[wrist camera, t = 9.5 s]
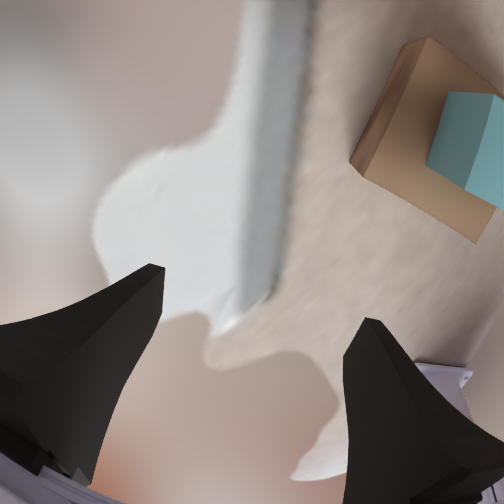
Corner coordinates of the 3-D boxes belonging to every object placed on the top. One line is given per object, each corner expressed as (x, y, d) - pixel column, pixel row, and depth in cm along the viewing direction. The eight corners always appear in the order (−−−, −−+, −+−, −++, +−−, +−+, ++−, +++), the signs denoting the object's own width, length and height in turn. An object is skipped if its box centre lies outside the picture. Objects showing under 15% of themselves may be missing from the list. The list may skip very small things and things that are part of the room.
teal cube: (482, 193, 13) (524, 223, 9) (424, 165, 13) (463, 189, 9) (504, 127, 11) (552, 141, 8) (448, 91, 11) (494, 94, 7)
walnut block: (447, 217, 18) (475, 244, 14) (347, 161, 17) (363, 177, 14) (496, 118, 14) (533, 126, 11) (400, 46, 13) (428, 36, 10)
